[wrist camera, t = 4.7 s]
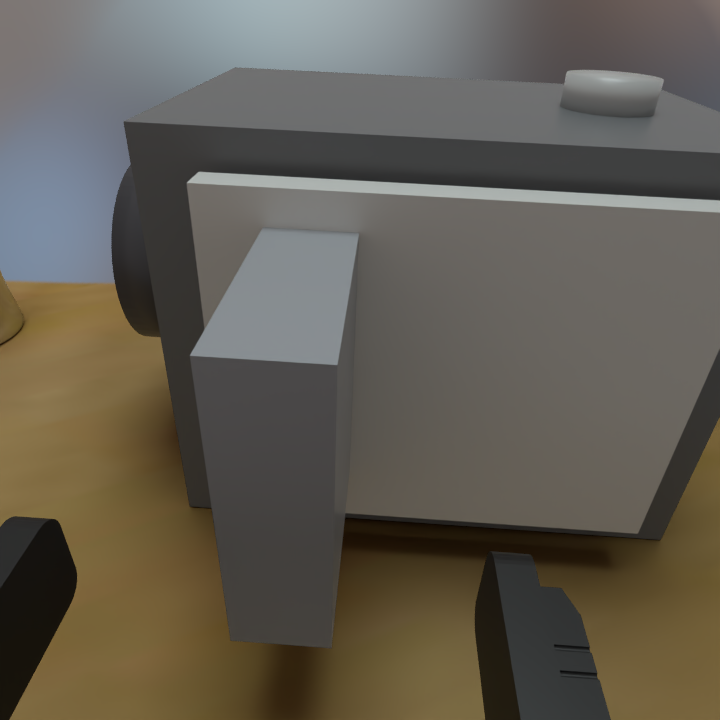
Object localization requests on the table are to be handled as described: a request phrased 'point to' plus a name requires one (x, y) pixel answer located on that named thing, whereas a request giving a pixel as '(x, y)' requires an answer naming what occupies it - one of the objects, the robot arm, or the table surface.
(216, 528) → the side door
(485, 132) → the box
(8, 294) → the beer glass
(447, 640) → the table surface
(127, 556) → the table surface
